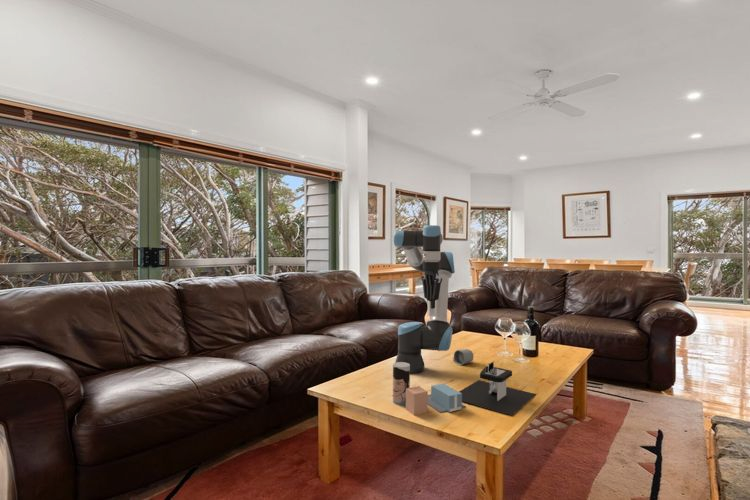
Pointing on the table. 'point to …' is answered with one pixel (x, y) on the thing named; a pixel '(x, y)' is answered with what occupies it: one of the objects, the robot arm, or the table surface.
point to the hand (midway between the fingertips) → (431, 315)
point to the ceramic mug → (463, 356)
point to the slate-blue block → (446, 397)
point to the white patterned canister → (400, 382)
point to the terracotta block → (416, 400)
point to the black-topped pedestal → (495, 392)
